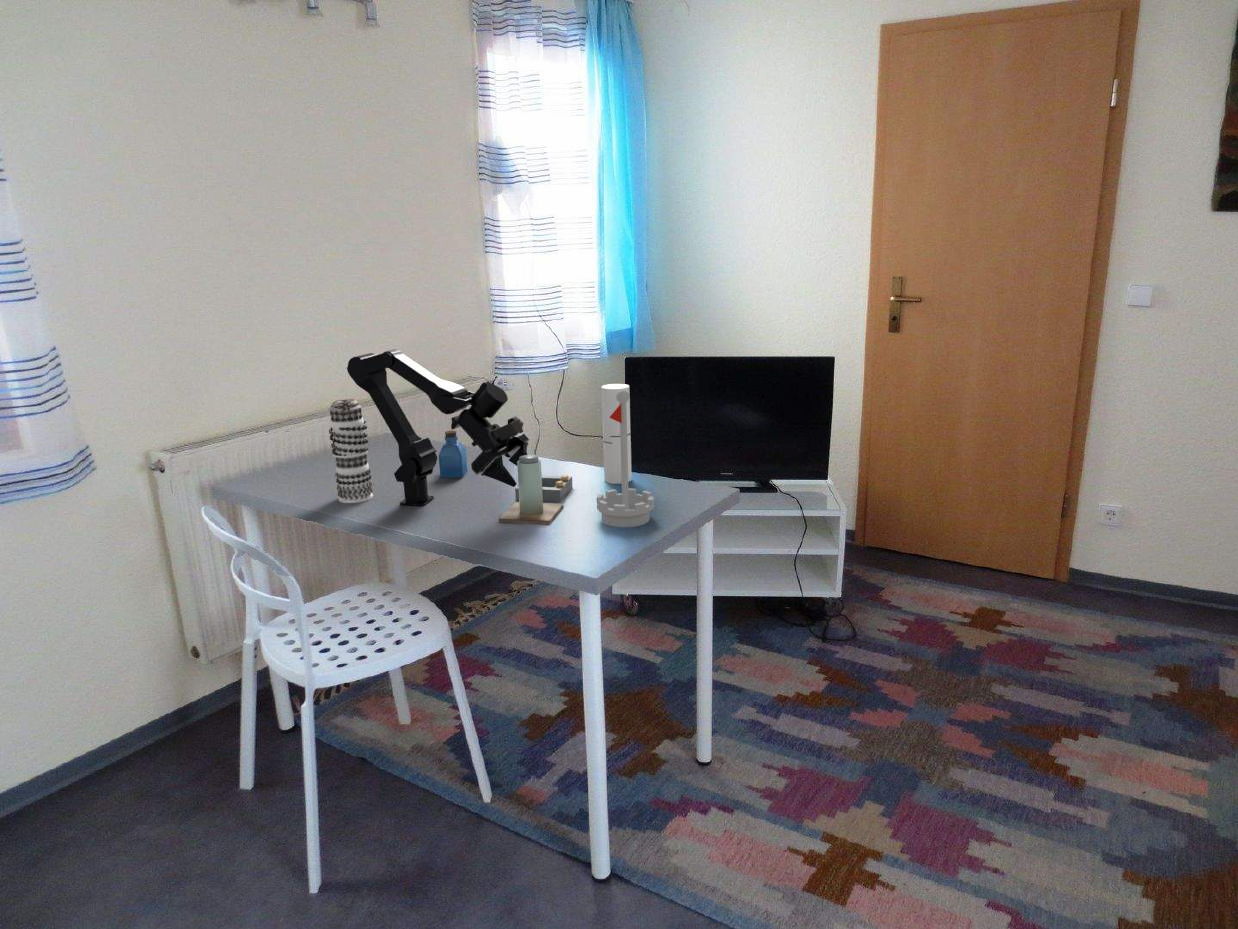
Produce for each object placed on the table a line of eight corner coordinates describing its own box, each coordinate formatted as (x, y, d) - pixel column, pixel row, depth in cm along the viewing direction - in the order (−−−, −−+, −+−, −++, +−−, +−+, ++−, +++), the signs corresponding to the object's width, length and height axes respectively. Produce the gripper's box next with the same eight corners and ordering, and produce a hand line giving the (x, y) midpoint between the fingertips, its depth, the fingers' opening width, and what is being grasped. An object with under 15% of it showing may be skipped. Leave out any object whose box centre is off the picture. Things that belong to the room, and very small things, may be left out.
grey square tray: (560, 501, 209) (559, 486, 207) (515, 500, 211) (514, 484, 210) (572, 487, 219) (571, 472, 218) (529, 486, 222) (528, 471, 221)
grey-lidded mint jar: (531, 516, 196) (528, 461, 193) (514, 511, 200) (511, 458, 196) (548, 510, 200) (545, 456, 197) (531, 505, 204) (529, 453, 200)
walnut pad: (549, 524, 193) (549, 520, 193) (499, 521, 196) (498, 518, 195) (563, 507, 205) (563, 503, 204) (515, 505, 207) (515, 502, 207)
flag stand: (618, 506, 204) (615, 382, 196) (665, 515, 197) (663, 387, 189) (585, 522, 194) (580, 392, 186) (633, 532, 186) (630, 398, 178)
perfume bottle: (463, 477, 231) (459, 434, 228) (440, 477, 231) (436, 434, 228) (467, 471, 237) (464, 429, 234) (445, 471, 237) (441, 429, 234)
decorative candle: (382, 493, 219) (371, 397, 212) (361, 504, 210) (349, 405, 204) (351, 491, 222) (340, 396, 215) (329, 502, 213) (317, 404, 206)
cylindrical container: (628, 484, 221) (626, 389, 214) (601, 483, 222) (598, 388, 216) (633, 476, 228) (631, 383, 221) (607, 475, 229) (604, 383, 222)
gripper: (479, 416, 187) (526, 469, 186) (519, 400, 204) (563, 448, 203) (451, 448, 192) (497, 500, 191) (492, 429, 209) (535, 477, 208)
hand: (524, 480), depth 198 cm, fingers open, 9 cm apart
